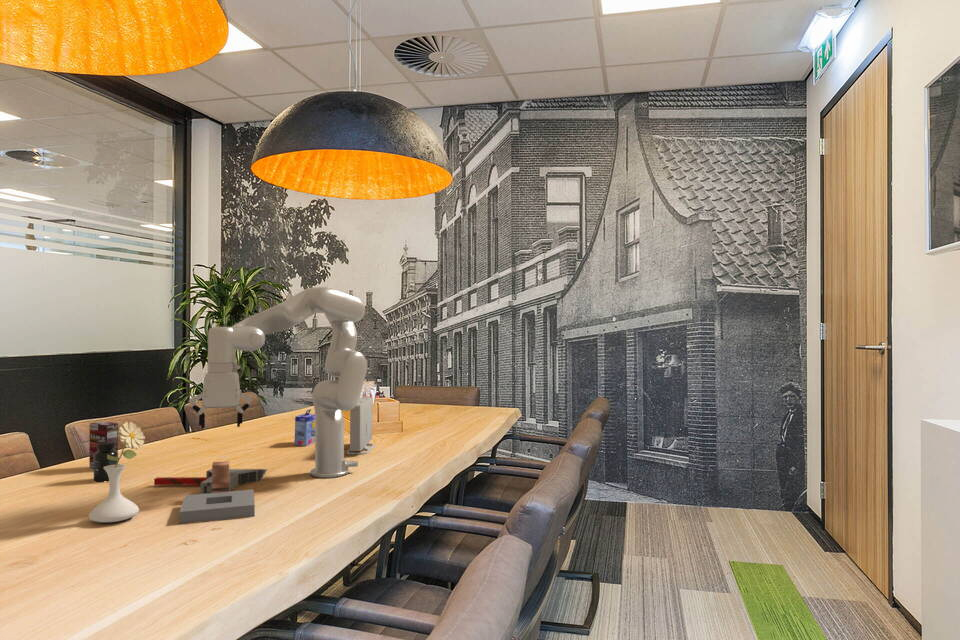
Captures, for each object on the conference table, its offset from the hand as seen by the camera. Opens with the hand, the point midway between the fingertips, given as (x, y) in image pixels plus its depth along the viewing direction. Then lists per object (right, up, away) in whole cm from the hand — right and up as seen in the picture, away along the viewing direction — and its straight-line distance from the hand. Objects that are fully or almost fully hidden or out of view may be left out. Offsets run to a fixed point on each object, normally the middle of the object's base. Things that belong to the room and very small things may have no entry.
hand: (220, 427), depth 182 cm
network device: (+28, -21, +68) cm, 77 cm away
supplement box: (-55, -21, +35) cm, 68 cm away
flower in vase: (-19, -21, -20) cm, 34 cm away
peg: (0, -21, 0) cm, 21 cm away
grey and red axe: (-11, -21, +15) cm, 28 cm away
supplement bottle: (-45, -21, +19) cm, 53 cm away
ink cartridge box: (+3, -21, +79) cm, 82 cm away
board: (+5, -21, -13) cm, 25 cm away
